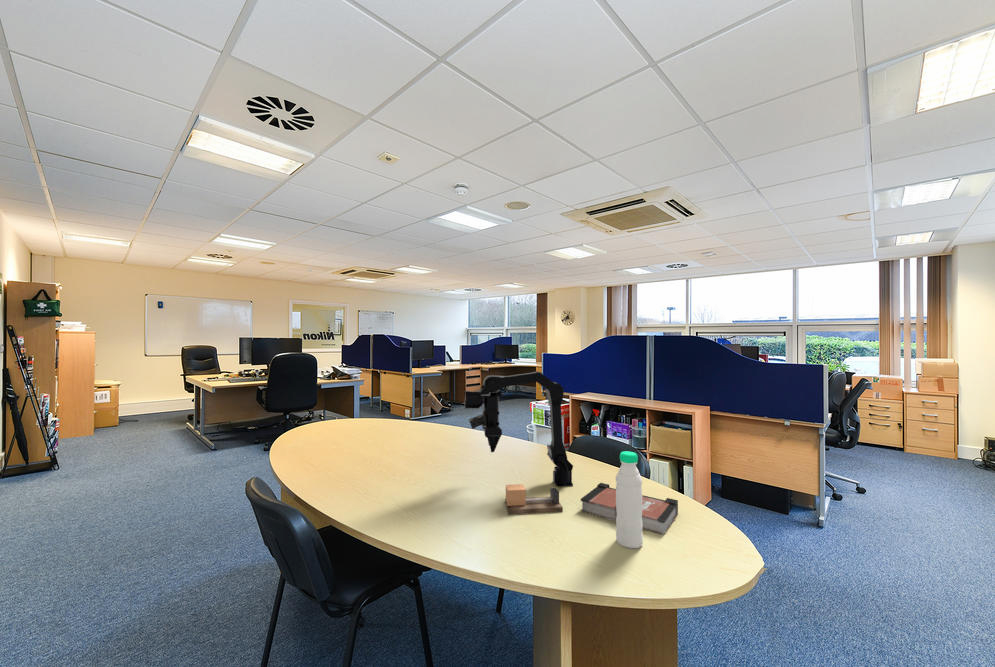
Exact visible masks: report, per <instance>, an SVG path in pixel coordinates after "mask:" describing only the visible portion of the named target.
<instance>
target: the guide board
mask: <svg viewBox="0 0 995 667" xmlns="http://www.w3.org/2000/svg"><path fill="white" fill-rule="evenodd" d="M533 498H550V496H535V497H533V496H532V497H526V499H533ZM504 504H506V505H505V507H506V512H507V514H508V515H524V514H527V513H528V514H543V512H544V514H545V512H547V513H561V512H562V511H563V510H564V509H563V508H564V507H563V505H562V504H561V502H560V501H559V504H553V503H534V504H525V505H517V506H507V502H506V498H504Z"/></svg>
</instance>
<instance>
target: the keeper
mask: <svg viewBox="0 0 995 667" xmlns="http://www.w3.org/2000/svg"><path fill="white" fill-rule="evenodd" d="M526 498H527V497H526V487H525V485H524V484H523V483H520V484H505V499H506V502H507V506H517V505H525V502H526Z"/></svg>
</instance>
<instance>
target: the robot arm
mask: <svg viewBox="0 0 995 667" xmlns="http://www.w3.org/2000/svg"><path fill="white" fill-rule="evenodd" d="M482 382H483V384H482V385H481V387H480V388H479V389H478V391H477V390H474V391H473V390H465V393H464V394H465V395H464V409H465V410H467V409H468V410H475V409H476V410H477V409H478V410H479V409H480V407H483V410H482V414H478V415H476V416H473V417H471V418H469V419H468V421H469V425H470V427H471V429H473V430H475V429H476V428H478V427H480V426H481V427H482V429H483V430H484V436H485V438H487V442H488V443H487V444H488V446H489V448H490V453H495V450H496V448H497V446H498V444H499V441H500V439H501V437H502V436H503V429H502V427H501V426H500V421H499V418H500V416H499V415H500V410H499V409H500V408H499V406H500V405H499V404H500V403H499V398H502V397H504V396H505V395H504V394H503V393H502V392H501V391H500V390H502V389H504V388H507V387H510V386H511V387H512V386H518V385H527V384H532V383H537V384H539V385H540V386H541V387H542V388H544V389H545V394H546V398H547V401H548V405H549V413H550V414H549V416H550V418H549V419H550V430H551V431H550V434H551V436H550V437H551V441H550V444H547V445H546V447H547V448H546V449H547V454H546V455H547V456H548V458H549V459H550V461H551V462H552V463H553V464H554V465H555V466H554V468H553V470H552V482H553V483H554V485H555V486H556V487H573V486H574V484H573V478H572V476H573V469H574V465H573V464H572V463H571V462H570V461H569V459H568V455H567V451H566V448H565V445H564V441H563V440H564V439H563V423H562V404H563V399H564V393H565V390H564V386H562V385H561V384H560V383H558V382H555V381H552V380H551V379H550V378H548V377H547V376H545V375H544V374H543V372H541V371H538V370H536V371H532V372H526V373H521V374H520V373H519V374H511V375H496V374H494V375H493V374H491V375H490V374H489V375H486V376H485V377H484V379H483V381H482Z"/></svg>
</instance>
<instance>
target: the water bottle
mask: <svg viewBox="0 0 995 667" xmlns="http://www.w3.org/2000/svg"><path fill="white" fill-rule="evenodd" d="M638 457H639V456H638V454H637V453H636V452H633V451H627V450H625V451H621V452H620V454H619V460H620V461H619V462H620V463H621V465H620V467H619V469H618V471H617V473H616V475H615V483H616V485H615V486H616V487H615V489H616V512H617V516H616V521H615V524H616V529H615V540H616V542H617V543H618V545H620V546H622V547H623V548H627V549H639V548H640V547H642V545H643V542H644V539H643V537H644V536H643V529H642V527H643V523H642V495H643V488H642V487H643V486H642V485H643V478H642V476H641V474H640V471H639V469H638V467H637V464H638V461H639V458H638Z"/></svg>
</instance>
